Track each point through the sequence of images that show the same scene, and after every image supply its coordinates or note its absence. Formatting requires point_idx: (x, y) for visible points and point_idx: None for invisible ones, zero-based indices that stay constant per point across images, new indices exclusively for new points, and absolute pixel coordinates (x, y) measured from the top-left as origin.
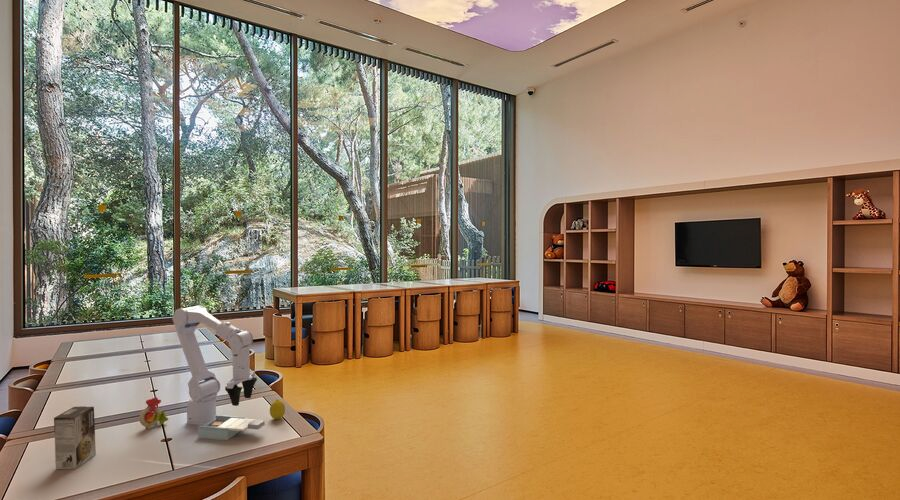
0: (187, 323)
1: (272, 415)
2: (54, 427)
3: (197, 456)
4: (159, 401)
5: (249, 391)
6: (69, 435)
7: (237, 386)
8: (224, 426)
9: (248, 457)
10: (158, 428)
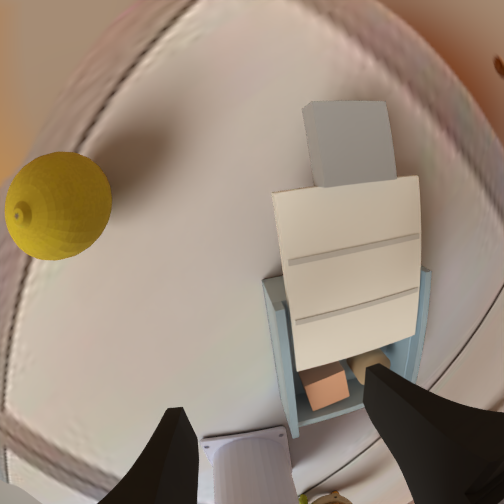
0: None
1: (111, 201)
2: None
3: (480, 258)
4: None
5: (174, 461)
6: None
7: (480, 494)
8: (407, 308)
9: (454, 80)
10: (328, 483)
